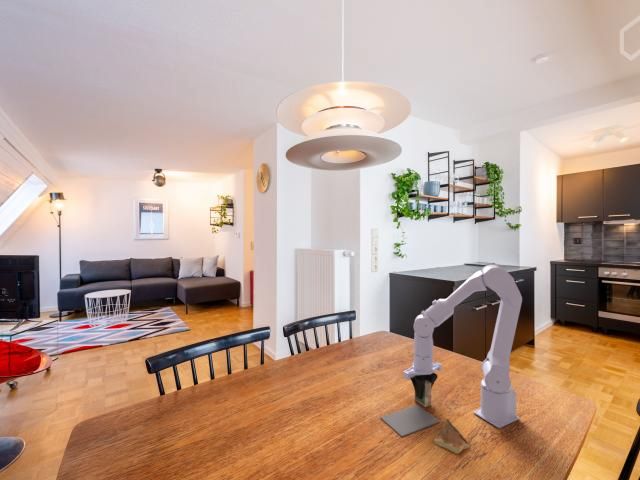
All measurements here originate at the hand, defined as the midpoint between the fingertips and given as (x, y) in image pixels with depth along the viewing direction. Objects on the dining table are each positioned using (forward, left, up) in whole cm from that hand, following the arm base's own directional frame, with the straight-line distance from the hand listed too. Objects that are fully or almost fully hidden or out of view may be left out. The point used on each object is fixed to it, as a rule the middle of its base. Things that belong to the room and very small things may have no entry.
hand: (422, 396), depth 96 cm
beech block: (0, 0, -2) cm, 2 cm away
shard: (+7, +15, -3) cm, 17 cm away
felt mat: (+10, +5, -2) cm, 11 cm away
